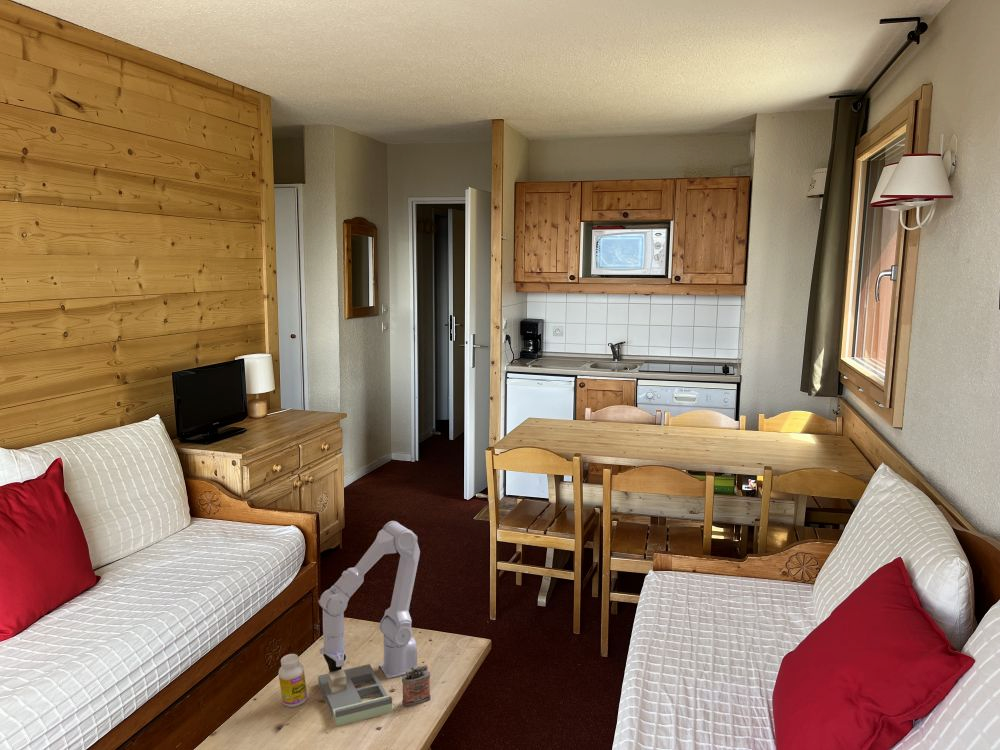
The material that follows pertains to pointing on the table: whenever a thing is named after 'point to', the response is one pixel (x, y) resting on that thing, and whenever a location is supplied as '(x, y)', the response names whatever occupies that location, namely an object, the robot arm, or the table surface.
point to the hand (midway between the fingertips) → (335, 678)
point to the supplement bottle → (292, 681)
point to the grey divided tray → (356, 696)
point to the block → (337, 681)
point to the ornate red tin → (416, 686)
